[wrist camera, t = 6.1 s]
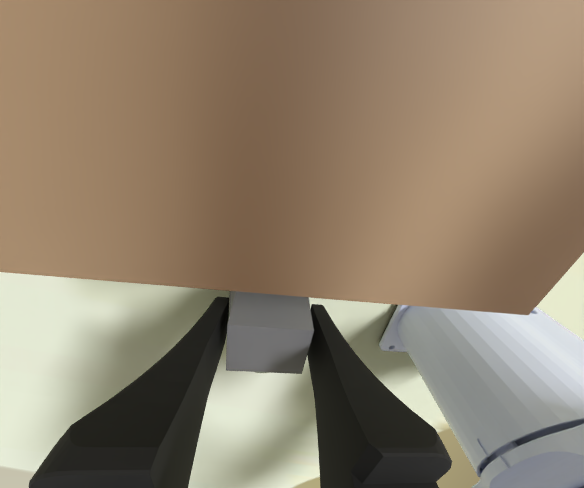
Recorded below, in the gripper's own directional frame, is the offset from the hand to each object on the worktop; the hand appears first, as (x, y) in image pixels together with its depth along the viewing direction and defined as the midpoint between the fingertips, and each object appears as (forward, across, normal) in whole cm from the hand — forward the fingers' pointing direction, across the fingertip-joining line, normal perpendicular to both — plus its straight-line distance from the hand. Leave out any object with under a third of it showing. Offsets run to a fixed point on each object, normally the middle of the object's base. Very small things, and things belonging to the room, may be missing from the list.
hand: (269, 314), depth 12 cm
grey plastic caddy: (+4, 0, 0) cm, 4 cm away
